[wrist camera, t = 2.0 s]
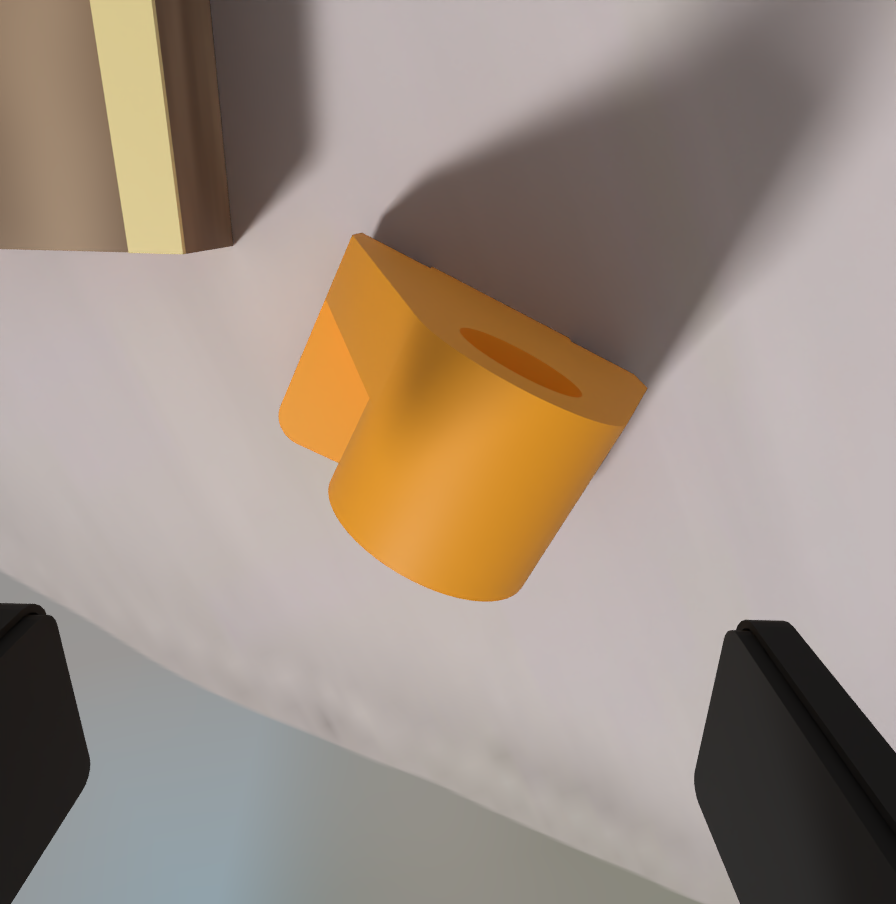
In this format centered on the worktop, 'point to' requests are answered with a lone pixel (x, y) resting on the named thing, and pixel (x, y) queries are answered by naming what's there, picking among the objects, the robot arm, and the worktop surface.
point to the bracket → (449, 422)
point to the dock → (111, 127)
